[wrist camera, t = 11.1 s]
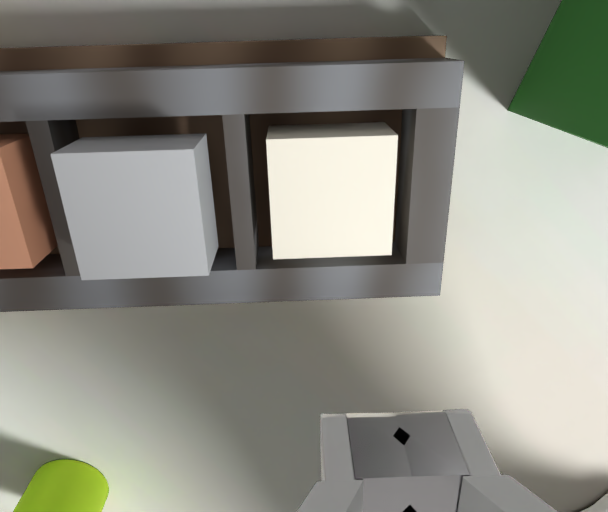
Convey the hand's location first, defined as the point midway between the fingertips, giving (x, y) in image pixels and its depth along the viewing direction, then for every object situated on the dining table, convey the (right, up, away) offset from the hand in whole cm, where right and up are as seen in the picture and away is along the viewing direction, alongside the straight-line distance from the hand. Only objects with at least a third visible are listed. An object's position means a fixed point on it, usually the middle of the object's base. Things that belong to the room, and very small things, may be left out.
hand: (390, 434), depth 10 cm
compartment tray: (-10, +9, +19) cm, 23 cm away
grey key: (-9, +7, +15) cm, 19 cm away
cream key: (0, +8, +17) cm, 18 cm away
